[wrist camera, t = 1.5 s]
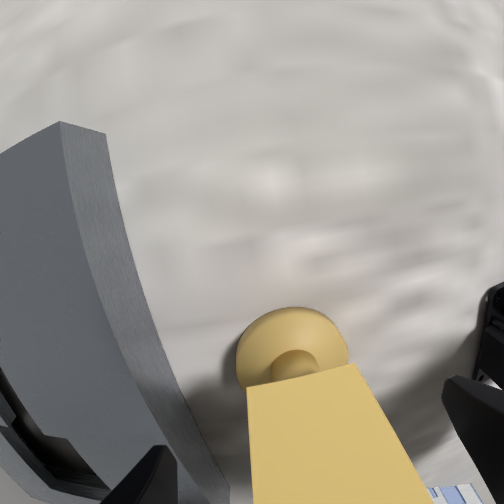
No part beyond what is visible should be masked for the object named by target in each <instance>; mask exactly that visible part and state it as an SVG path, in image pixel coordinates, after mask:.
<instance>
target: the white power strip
mask: <svg viewBox="0 0 504 504" xmlns="http://www.w3.org/2000/svg"><path fill="white" fill-rule="evenodd" d="M426 490H427V492H428V494H429V496H430V497H431V499H432V501H433V503H434V504H484V503H483V502H482V500H481V498H480V497H479V495H478V494H477V492H476V490H475V489H474V487H473V486H472V484H471V483H470V484H464V485H456V486H454V487H445V488H440V487H435V488H430V489H429V488H426Z"/></svg>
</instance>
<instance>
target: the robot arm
mask: <svg viewBox="0 0 504 504" xmlns="http://www.w3.org/2000/svg"><path fill="white" fill-rule="evenodd" d="M489 378H491V379H492V380H493V381H494V382H495V383H496V384H497V385H498V386H499V387H500V388H501V389H502V390H500V389H497V388H495V387H492V386H489V385H486V384H483V383H482V382H484V381H486V380H487V379H489ZM441 399H442V402H443V405H444V407H445V409H446V411H447V413H448V415H449V417H450V419H451V422H452V424H453V426H454V428H455V430H456V432H457V435H458V436H459V438H460V440H461V441H462V443H463V445H464V446H465V448H466V450H467V452H468V453H469V455H470V457H471V458H472V460H473V462H474V464H475V465H476V467H477V469H478V471H479V472H480V474H481V476H482V478H483V480H484V481H485V483H486V485H487V487H488V489H489V491H490V493H491V495H492V496H493V498H494V500H495V502H496V504H504V282H503V283H501V284H498V285H496V286H494V287H493V288H492V289H491V291H490V293H489V296H488V303H487V310H486V316H485V323H484V328H483V334H482V339H481V344H480V349H479V353H478V357H477V362H476V366H475V370H474V373H473V377H472V379H469V378H466V377H463V376H460V375H457V374H455V375H452V376H450V377H448V378H447V379H446V380H445V383H444V387H443V391H442V396H441ZM99 504H178V472H177V461H176V458H175V457H174V455H173V454H172V452H171V451H170V449H169V448H168V446H166V445H154V446H152V447H151V449H150V450H149V451H148V452H147V453H146V454H145V455H144V456H143V457H142V459H141V460H140V461H139V462H138V463H137V464H136V465H135V466H134V467H133V468H132V470H131V471H130V472H129V473H128V474H127V475H126V476H125V477H124V478H123V479H122V480H121V481H120V483H119V484H118V485H117V486H116V487H115V488H114V489H113V490H112V491H111V492H110V493H109V494H108V495H107V496H106V497H105V498H104V499H103V500H102V501H101V502H100V503H99Z"/></svg>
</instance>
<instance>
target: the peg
mask: <svg viewBox="0 0 504 504" xmlns="http://www.w3.org/2000/svg"><path fill="white" fill-rule="evenodd" d="M348 357H349V355H348V348H347V345H346V343H345V341H344V339H343V337H342V335H341V334H340V332H339V331H338V329H337V327H336V326H335V325H334V323H333V322H332V321H331V320H330V319H329V318H328V317H327V316H325V315H324V314H322V313H320V312H318V311H316V310H313V309H309V308H304V307H287V308H281V309H277V310H274V311H271V312H269V313H267V314H265V315H263V316H261V317H260V318H258V319H257V320H255V321H254V322H253V323H252V324H251V325H250V326H249V327H248V328H247V329H246V330H245V332H244V333H243V335H242V336H241V338H240V340H239V342H238V346H237V351H236V375H237V380H238V382H239V385H240V387H241V388H242V390H243V391H244V392H245V393H246V395H247V407H248V424H249V441H250V458H251V473H252V489H253V503H254V504H434V503H433V501H432V499H431V497H430V496H429V494H428V492H427V490H426V488H425V486H424V484H423V482H422V481H421V479H420V477H419V475H418V473H417V471H416V469H415V468H414V466H413V464H412V462H411V460H410V458H409V457H408V455H407V453H406V451H405V449H404V448H403V446H402V444H401V442H400V440H399V439H398V437H397V435H396V433H395V432H394V430H393V428H392V426H391V425H390V423H389V421H388V419H387V418H386V416H385V414H384V412H383V411H382V409H381V407H380V405H379V404H378V402H377V400H376V398H375V397H374V395H373V393H372V392H371V390H370V388H369V387H368V385H367V383H366V381H365V380H364V378H363V376H362V375H361V373H360V371H359V370H358V368H357V366H356V365H355V363H351V364H348Z"/></svg>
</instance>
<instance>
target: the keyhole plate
mask: <svg viewBox="0 0 504 504" xmlns="http://www.w3.org/2000/svg"><path fill="white" fill-rule="evenodd" d="M0 367H1V369H2V370H3V372H4V374H5V376H6V378H7V379H8V381H9V383H10V385H11V386H12V388H13V390H14V391H15V393H16V394H17V396H18V398H19V399H20V401H21V402H22V404H23V405H24V407H25V409H26V410H27V412H28V413H29V414H30V416H31V417H32V419H33V420H34V422H35V423H36V424H37V426H38V427H39V429H40V430H41V431H42V433H43V434H44V435H47V436H53V437H60V438H67V439H68V441H69V442H70V443H71V445H72V446H73V447H74V448H75V450H76V451H77V452H78V453H79V455H80V456H81V457H82V458H83V459H84V461H85V462H86V463H87V464H88V465H89V466H90V468H91V469H92V470H93V471H94V472H95V473H96V474H97V475H92V474H86V473H80V472H75V471H70V470H65V469H61V468H56V467H52V466H48V465H45V464H44V463H43V462H42V461H41V460H40V459H39V458H38V456H37V455H36V454H35V453H34V452H33V451H32V449H31V448H30V447H29V446H28V444H27V443H26V442H25V441H24V439H23V438H22V437H21V436H20V434H19V433H18V432H17V430H16V429H15V428H14V426H13V425H12V422H13V420H14V419H15V418H16V415H15V413H14V412H13V410H12V409H11V407H10V406H9V404H8V403H7V401H6V400H5V398H4V397H3V395H2V393H1V392H0V466H1V467H2V468H3V469H4V470H5V471H6V473H7V474H8V475H9V476H10V477H11V478H12V479H13V480H14V481H15V482H16V483H17V484H18V485H19V486H20V487H21V488H22V489H23V490H24V491H25V492H26V493H28V494H29V495H30V496H31V497H33V498H36V499H39V500H42V501H44V502H47V503H50V504H99V503H100V502H101V501H102V500H103V499H104V498H105V497H106V496H107V495H108V494H109V493H110V492H111V491H112V490H113V489H114V488H115V487H116V486H117V485H118V484H119V483H120V481H121V480H122V479H123V478H124V477H125V476H126V475H127V474H128V473H129V472H130V471H131V470H132V468H133V467H134V466H135V465H136V464H137V463H138V462H139V461H140V460H141V459H142V457H143V456H144V455H145V454H146V453H147V452H148V451H149V450H150V449H151V447H152V446H154V445H166V446H168V448H169V449H170V451H171V452H172V454H173V455H174V457H175V458H176V461H177V472H178V504H230V487H229V486H228V484H227V482H226V480H225V479H224V477H223V475H222V473H221V472H220V470H219V468H218V466H217V464H216V463H215V461H214V459H213V457H212V455H211V453H210V451H209V449H208V447H207V446H206V444H205V442H204V440H203V438H202V436H201V434H200V432H199V430H198V428H197V426H196V423H195V421H194V419H193V417H192V415H191V413H190V411H189V409H188V406H187V404H186V402H185V400H184V398H183V395H182V393H181V391H180V389H179V386H178V384H177V382H176V379H175V377H174V374H173V372H172V370H171V367H170V365H169V362H168V360H167V357H166V355H165V352H164V350H163V347H162V344H161V342H160V339H159V336H158V334H157V331H156V328H155V325H154V323H153V320H152V317H151V314H150V311H149V308H148V305H147V302H146V299H145V296H144V293H143V290H142V287H141V284H140V280H139V277H138V274H137V271H136V267H135V264H134V260H133V257H132V253H131V250H130V246H129V242H128V239H127V235H126V231H125V227H124V223H123V219H122V215H121V211H120V207H119V202H118V198H117V193H116V189H115V184H114V179H113V174H112V169H111V164H110V158H109V152H108V147H107V141H106V134H104V133H101V132H97V131H94V130H90V129H87V128H83V127H80V126H76V125H72V124H68V123H65V122H61V121H59V122H57V123H55V124H53V125H51V126H49V127H47V128H45V129H43V130H41V131H39V132H37V133H35V134H33V135H32V136H30V137H28V138H26V139H24V140H23V141H21V142H19V143H17V144H16V145H14V146H12V147H11V148H9V149H7V150H6V151H4V152H3V153H1V154H0Z"/></svg>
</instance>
